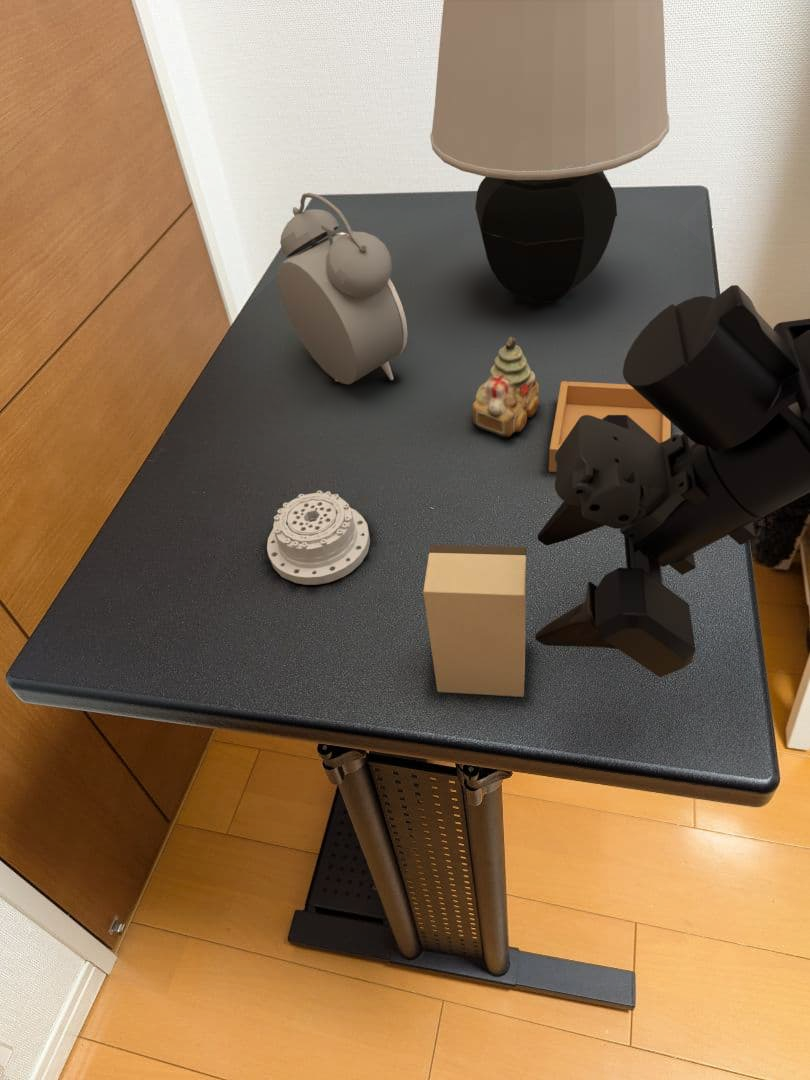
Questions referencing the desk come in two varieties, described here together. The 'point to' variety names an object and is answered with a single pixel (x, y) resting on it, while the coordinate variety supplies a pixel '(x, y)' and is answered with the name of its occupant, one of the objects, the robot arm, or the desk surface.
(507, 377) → the ornament
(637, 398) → the mount frame
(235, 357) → the desk surface
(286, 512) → the mechanical component
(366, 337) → the alarm clock
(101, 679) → the desk surface
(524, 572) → the back pad
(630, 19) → the table lamp
